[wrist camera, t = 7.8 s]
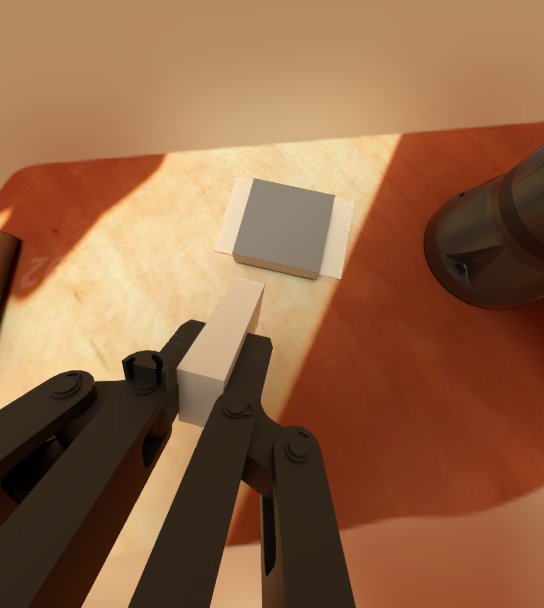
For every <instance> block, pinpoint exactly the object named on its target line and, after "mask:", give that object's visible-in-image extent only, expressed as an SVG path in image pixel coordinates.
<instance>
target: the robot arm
mask: <svg viewBox="0 0 544 608" xmlns="http://www.w3.org/2000/svg"><path fill="white" fill-rule="evenodd" d="M424 246H425V253H426V257H427V261H428V263H429V266H430V268H431V270H432V271H433V273H434V275H435V276H436V278H437V279H438V280H439V282H440V283H441V284H442V285H443V286H444V287H445V288H446V289H447V290H448V291H450V292H451V293H452V294H453V295H455V296H456V297H458V298H459V299H461V300H463V301H465V302H467V303H469V304H472V305H475V306H478V307H482V308H488V309H505V308H511V307H515V306H520V305H524V304H528V303H531V302H534V301H536V300H538V299H541V298H542V297H544V144H543V145H542V146H541V147H539V148H538V149H537V150H535V151H534V152H533V153H532V154H530V155H529V156H528V157H527V158H525V159H524V160H523V161H522V162H520V163H519V164H518V165H516V166H515V167H514V168H513V169H511V170H510V171H509V172H507V173H505V174H503V175H500V176H498V177H496V178H493V179H491V180H489V181H487V182H485V183H483V184H481V185H479V186H478V187H474V188H471V189H468V190H466V191H464V192H461V193H459V194H458V195H456V196H455V197H453V198H452V199H450V200H449V201H448V202H447V203H446V204H445V205H443V206H442V207H441V208H440V209H439V210H438V211H437V212H436V213H435V214H434V215H433V217H432V218H431V220H430V221H429V223H428V226H427V229H426V232H425V239H424ZM264 287H265V283H262V282H258V281H254V280H249V279H245V278H241V277H237V278H236V279H235V281H234V282H233V284H232V285H231V287H230V288H229V290H228V291H227V293H226V294H225V296H224V297H223V299H222V301H221V302H220V304H219V305H218V307H217V308H216V310H215V311H214V313H213V314H212V316H211V317H210V319H209V320H208V322H207V323H204V322H200V321H196V320H192V319H191V320H189V321H188V322H186V323H184V324H182V325H181V326H180V327H179V328H178V330H177V331H176V332H175V334H174V335H173V336H172V337H171V338H170V340H169V342H167V343H166V345H165V346H164V347H163V348H162V350H161V351H160V352H157V351H150V350H146V351H139V352H136V353H134V354H131V355H129V356H128V357H126V358H125V359H124V360H122V364H123V369H124V374H125V379H126V380H120V381H94V378H93V376H92V375H91V374H90V373H88V372H85V371H82V370H73V371H68V372H64V373H60V374H58V375H56V376H54V377H52V378H50V379H49V380H47V381H45V382H44V383H42V384H40V385H39V386H37V387H36V388H34V389H32V390H31V391H29V392H28V393H26V394H24V395H23V396H21V397H20V398H18V399H16V400H15V401H13V402H11V403H10V404H8V405H7V406H5V407H3V408H2V409H0V608H81V607H82V605H83V603H84V601H85V599H86V597H87V595H88V593H89V591H90V589H91V588H92V585H93V584H94V582H95V580H96V578H97V576H98V574H99V572H100V570H101V568H102V566H103V565H104V563H105V561H106V559H107V557H108V555H109V553H110V551H111V549H112V547H113V545H114V544H115V542H116V540H117V538H118V536H119V534H120V532H121V530H122V528H123V526H124V524H125V522H126V521H127V519H128V517H129V515H130V513H131V511H132V509H133V507H134V505H135V503H136V501H137V500H138V498H139V496H140V494H141V492H142V490H143V488H144V486H145V484H146V482H147V480H148V478H149V477H150V475H151V473H152V471H153V469H154V467H155V465H156V463H157V461H158V459H159V457H160V455H161V454H162V452H163V450H164V448H165V446H166V444H167V442H168V440H169V438H170V436H171V433H172V423H173V421H174V420H175V418H176V416H177V414H178V415H179V421H182V422H186V423H189V424H193V425H197V426H201V427H204V429H203V431H202V434H201V436H200V439H199V441H198V443H197V446H196V448H195V450H194V453H193V455H192V457H191V460H190V462H189V465H188V467H187V469H186V472H185V474H184V476H183V479H182V481H181V483H180V486H179V488H178V491H177V493H176V495H175V498H174V500H173V502H172V505H171V507H170V509H169V512H168V514H167V516H166V519H165V521H164V524H163V526H162V528H161V531H160V533H159V535H158V538H157V540H156V542H155V545H154V547H153V550H152V552H151V554H150V557H149V559H148V562H147V564H146V566H145V569H144V571H143V573H142V576H141V578H140V580H139V583H138V585H137V587H136V590H135V592H134V594H133V597H132V599H131V602H130V604H129V606H128V608H210V604H211V600H212V595H213V591H214V587H215V583H216V579H217V575H218V571H219V567H220V563H221V558H222V555H223V550H224V546H225V542H226V538H227V534H228V530H229V526H230V522H231V518H232V514H233V510H234V505H235V501H236V497H237V493H238V489H239V485H240V481H241V480H243V481H244V482H245V483H246V484H248V485H249V486H250V487H252V488H253V489H254V490H256V491H257V492H258V493H259V494H260V533H261V571H262V608H356V606H355V602H354V597H353V593H352V589H351V584H350V579H349V575H348V571H347V566H346V562H345V557H344V553H343V548H342V544H341V540H340V535H339V530H338V526H337V521H336V517H335V512H334V508H333V503H332V499H331V494H330V490H329V485H328V481H327V476H326V472H325V467H324V463H323V458H322V454H321V450H320V447H319V444H318V442H317V440H316V438H315V437H314V436H313V435H312V434H311V432H309V431H307V430H306V429H304V428H303V427H298V426H289V427H285V428H283V427H282V426H280V425H279V424H277V423H275V422H274V421H273V420H271V419H270V418H269V417H268V416H267V415H266V413H265V412H264V410H263V408H262V405H261V394H262V390H263V386H264V382H265V378H266V374H267V369H268V365H269V361H270V357H271V353H272V349H273V346H272V343H271V340H270V338H267V337H263V336H259V335H255V334H254V333H255V330H256V327H257V325H258V319H259V314H260V308H261V303H262V298H263V292H264Z"/></svg>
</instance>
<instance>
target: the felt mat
mask: <svg viewBox="0 0 544 608" xmlns="http://www.w3.org/2000/svg"><path fill="white" fill-rule="evenodd" d="M252 183H253V179H249V178H244V177H239V176H237V177H236V180H235V183H234V186H233V190H232V193H231V196H230V199H229V203H228V206H227V209H226V212H225V215H224V219H223V222H222V225H221V228H220V232H219V235H218V238H217V241H216V244H215V248H214V252H219V253H223V254H228V255H232V256H233V254H232V252H233V248H234V245H235V242H236V238H237V235H238V231H239V228H240V224H241V221H242V218H243V214H244V211H245V207H246V204H247V200H248V197H249V194H250V190H251V187H252ZM354 204H355V201H352V200H348V199H343V198H338V197H335V199H334V204H333V209H332V213H331V218H330V223H329V228H328V233H327V238H326V243H325V248H324V253H323V258H322V263H321V267H320V272H319V274H318V275H321V276H325V277H330V278H334V279H339V280H340V279H341V276H342V270H343V265H344V259H345V254H346V248H347V243H348V237H349V232H350V226H351V221H352V215H353V210H354Z"/></svg>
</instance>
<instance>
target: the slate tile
mask: <svg viewBox="0 0 544 608" xmlns="http://www.w3.org/2000/svg"><path fill="white" fill-rule="evenodd" d="M334 199H335V195H331V194H326V193H321V192H316V191H312V190H307V189H302V188H298V187H293V186H288V185H283V184H279V183H274V182H269V181H264V180H260V179H255V178H254V180H253V183H252V187H251V190H250V194H249V197H248V200H247V204H246V207H245V211H244V214H243V218H242V221H241V224H240V228H239V231H238V235H237V238H236V242H235V245H234V248H233V252H232V254H233V257H234V260H235V261H236V262H240V263H245V264H249V265H254V266H258V267H263V268H267V269H271V270H276V271H280V272H285V273H289V274H294V275H298V276H302V277H307V278H311V279H316V278H317V276H318V274H319V272H320V267H321V263H322V258H323V253H324V248H325V243H326V238H327V233H328V228H329V223H330V218H331V213H332V209H333V204H334Z"/></svg>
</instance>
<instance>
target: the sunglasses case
mask: <svg viewBox="0 0 544 608" xmlns="http://www.w3.org/2000/svg"><path fill="white" fill-rule="evenodd" d="M18 240H19V239H18V238H17V237H15V236H13V235H11V234H8V233H6V232H1V231H0V303H1V298H2V294H3V290H4V287H5V285H6V281H7V278H8V274H9V270H10V266H11V263H12V260H13V257H14V253H15V249H16V247H17V244H18Z"/></svg>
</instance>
